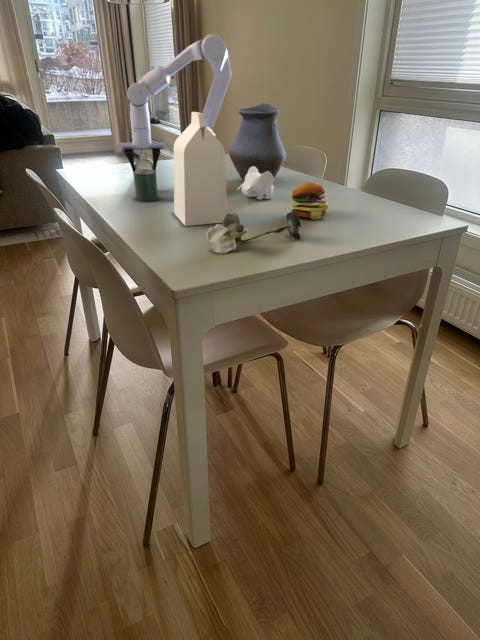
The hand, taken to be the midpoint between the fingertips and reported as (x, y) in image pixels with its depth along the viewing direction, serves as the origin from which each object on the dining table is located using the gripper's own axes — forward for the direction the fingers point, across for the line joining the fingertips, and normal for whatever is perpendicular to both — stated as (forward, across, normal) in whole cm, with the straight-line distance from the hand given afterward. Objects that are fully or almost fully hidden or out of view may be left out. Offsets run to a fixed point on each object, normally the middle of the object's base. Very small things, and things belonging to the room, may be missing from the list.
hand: (144, 173), depth 144 cm
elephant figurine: (+6, -34, +13) cm, 37 cm away
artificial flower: (+6, -24, +54) cm, 59 cm away
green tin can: (+6, 0, +10) cm, 11 cm away
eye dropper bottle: (+5, 0, 0) cm, 5 cm away
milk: (+6, -14, +31) cm, 35 cm away
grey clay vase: (+6, -40, -12) cm, 42 cm away
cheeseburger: (+6, -44, +33) cm, 55 cm away
